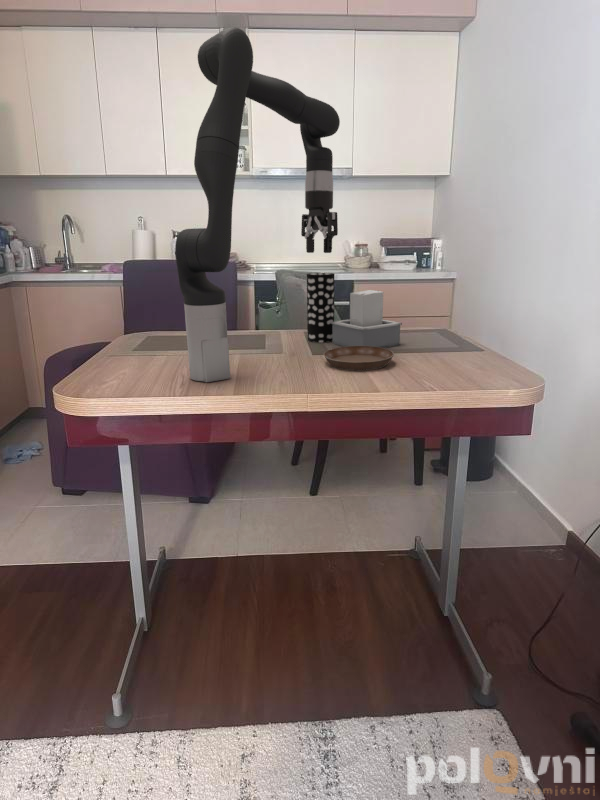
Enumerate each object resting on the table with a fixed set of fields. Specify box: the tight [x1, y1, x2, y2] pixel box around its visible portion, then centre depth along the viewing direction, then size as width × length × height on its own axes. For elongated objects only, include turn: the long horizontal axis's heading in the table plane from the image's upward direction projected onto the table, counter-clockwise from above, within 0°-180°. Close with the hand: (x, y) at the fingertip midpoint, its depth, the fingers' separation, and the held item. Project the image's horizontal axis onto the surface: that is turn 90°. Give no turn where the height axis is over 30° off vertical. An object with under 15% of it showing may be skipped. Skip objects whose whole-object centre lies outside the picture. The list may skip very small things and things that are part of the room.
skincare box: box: [349, 289, 384, 327], centre depth 156 cm, size 8×6×15 cm
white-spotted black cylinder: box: [306, 272, 335, 344], centre depth 163 cm, size 8×8×20 cm
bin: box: [331, 318, 403, 349], centre depth 158 cm, size 15×15×6 cm
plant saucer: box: [323, 346, 395, 371], centre depth 136 cm, size 18×18×3 cm
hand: (318, 252), depth 149 cm, fingers open, 8 cm apart
